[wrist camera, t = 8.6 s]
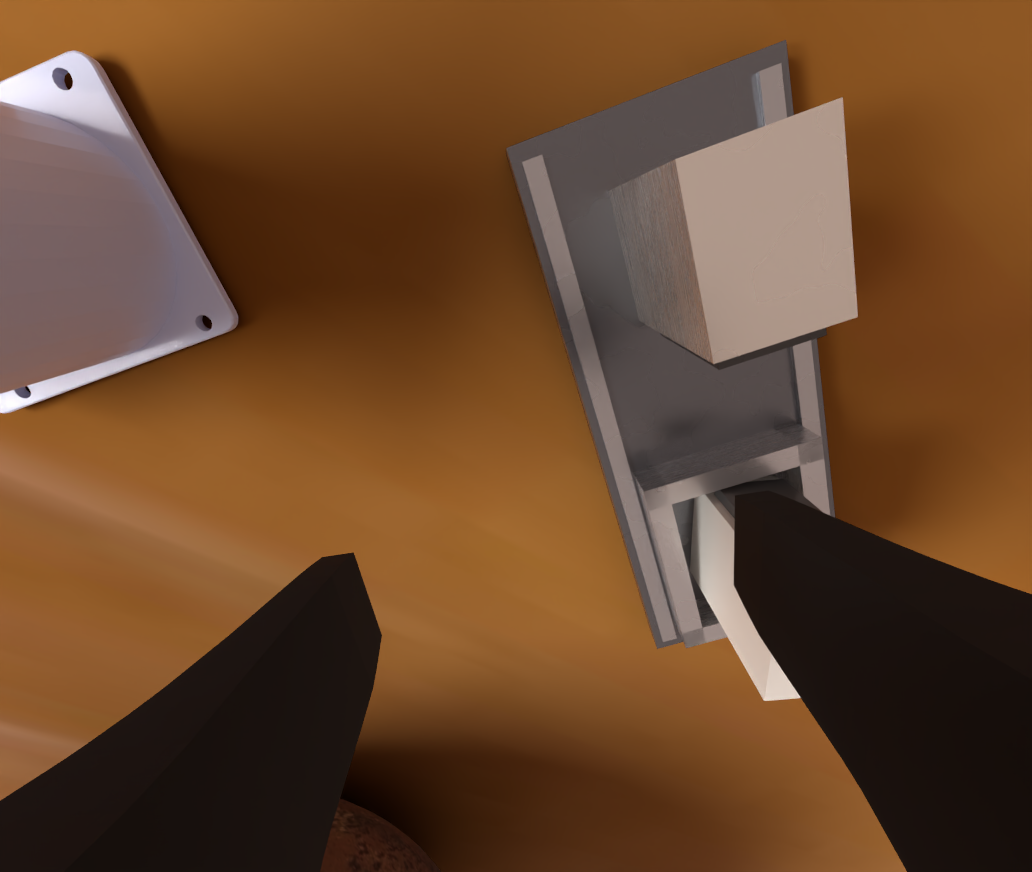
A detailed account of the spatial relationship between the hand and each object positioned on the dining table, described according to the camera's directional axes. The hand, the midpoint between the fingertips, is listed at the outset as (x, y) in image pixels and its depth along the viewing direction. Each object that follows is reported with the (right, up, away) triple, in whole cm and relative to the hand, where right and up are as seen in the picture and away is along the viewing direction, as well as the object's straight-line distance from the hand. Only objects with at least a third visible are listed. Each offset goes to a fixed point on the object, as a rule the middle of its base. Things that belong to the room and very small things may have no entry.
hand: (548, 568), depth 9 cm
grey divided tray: (+6, +4, +9) cm, 11 cm away
